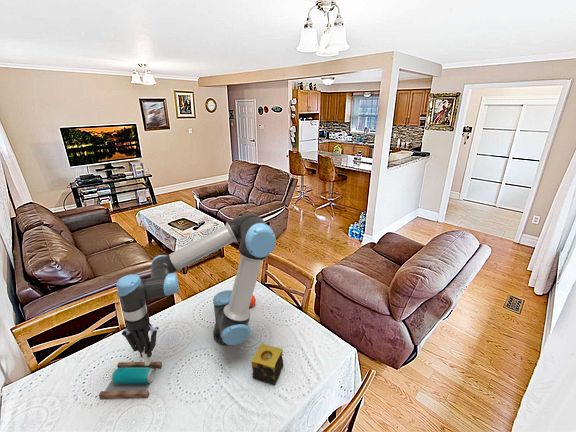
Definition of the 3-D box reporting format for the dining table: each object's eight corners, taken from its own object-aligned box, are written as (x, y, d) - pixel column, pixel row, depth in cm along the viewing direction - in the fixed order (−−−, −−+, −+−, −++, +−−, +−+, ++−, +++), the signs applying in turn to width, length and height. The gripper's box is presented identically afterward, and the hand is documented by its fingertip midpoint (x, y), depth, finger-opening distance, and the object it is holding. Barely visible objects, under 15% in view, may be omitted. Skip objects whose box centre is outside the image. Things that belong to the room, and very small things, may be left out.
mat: (155, 369, 120) (155, 368, 120) (144, 394, 110) (144, 393, 110) (117, 370, 120) (117, 369, 120) (102, 395, 110) (102, 394, 110)
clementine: (256, 310, 155) (255, 299, 152) (243, 311, 154) (242, 301, 151) (255, 300, 162) (255, 290, 159) (243, 302, 161) (242, 291, 158)
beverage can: (156, 365, 117) (120, 365, 117) (149, 370, 112) (111, 370, 112) (155, 380, 116) (118, 380, 116) (148, 386, 111) (110, 386, 111)
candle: (283, 365, 122) (283, 348, 118) (275, 386, 113) (274, 368, 109) (262, 359, 125) (261, 342, 121) (252, 378, 116) (251, 361, 113)
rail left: (149, 394, 110) (148, 390, 109) (147, 398, 108) (146, 393, 108) (102, 395, 109) (100, 391, 109) (100, 399, 108) (98, 394, 107)
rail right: (162, 365, 122) (161, 361, 121) (160, 368, 121) (159, 364, 120) (120, 366, 122) (118, 362, 121) (118, 369, 120) (116, 365, 119)
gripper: (158, 307, 106) (168, 354, 115) (123, 308, 106) (136, 354, 115) (150, 321, 99) (161, 370, 108) (112, 322, 99) (126, 371, 108)
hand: (148, 362), depth 111 cm, fingers closed
